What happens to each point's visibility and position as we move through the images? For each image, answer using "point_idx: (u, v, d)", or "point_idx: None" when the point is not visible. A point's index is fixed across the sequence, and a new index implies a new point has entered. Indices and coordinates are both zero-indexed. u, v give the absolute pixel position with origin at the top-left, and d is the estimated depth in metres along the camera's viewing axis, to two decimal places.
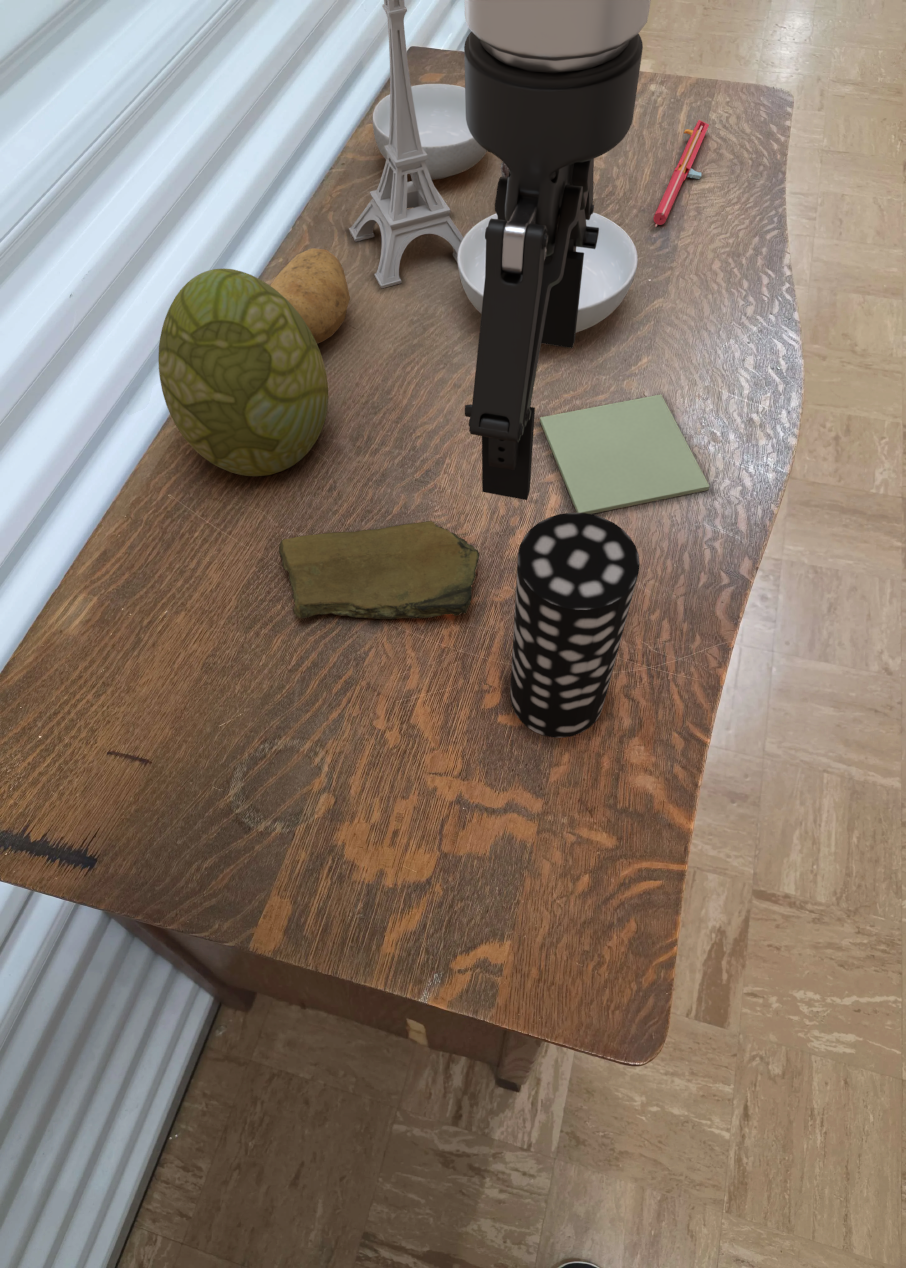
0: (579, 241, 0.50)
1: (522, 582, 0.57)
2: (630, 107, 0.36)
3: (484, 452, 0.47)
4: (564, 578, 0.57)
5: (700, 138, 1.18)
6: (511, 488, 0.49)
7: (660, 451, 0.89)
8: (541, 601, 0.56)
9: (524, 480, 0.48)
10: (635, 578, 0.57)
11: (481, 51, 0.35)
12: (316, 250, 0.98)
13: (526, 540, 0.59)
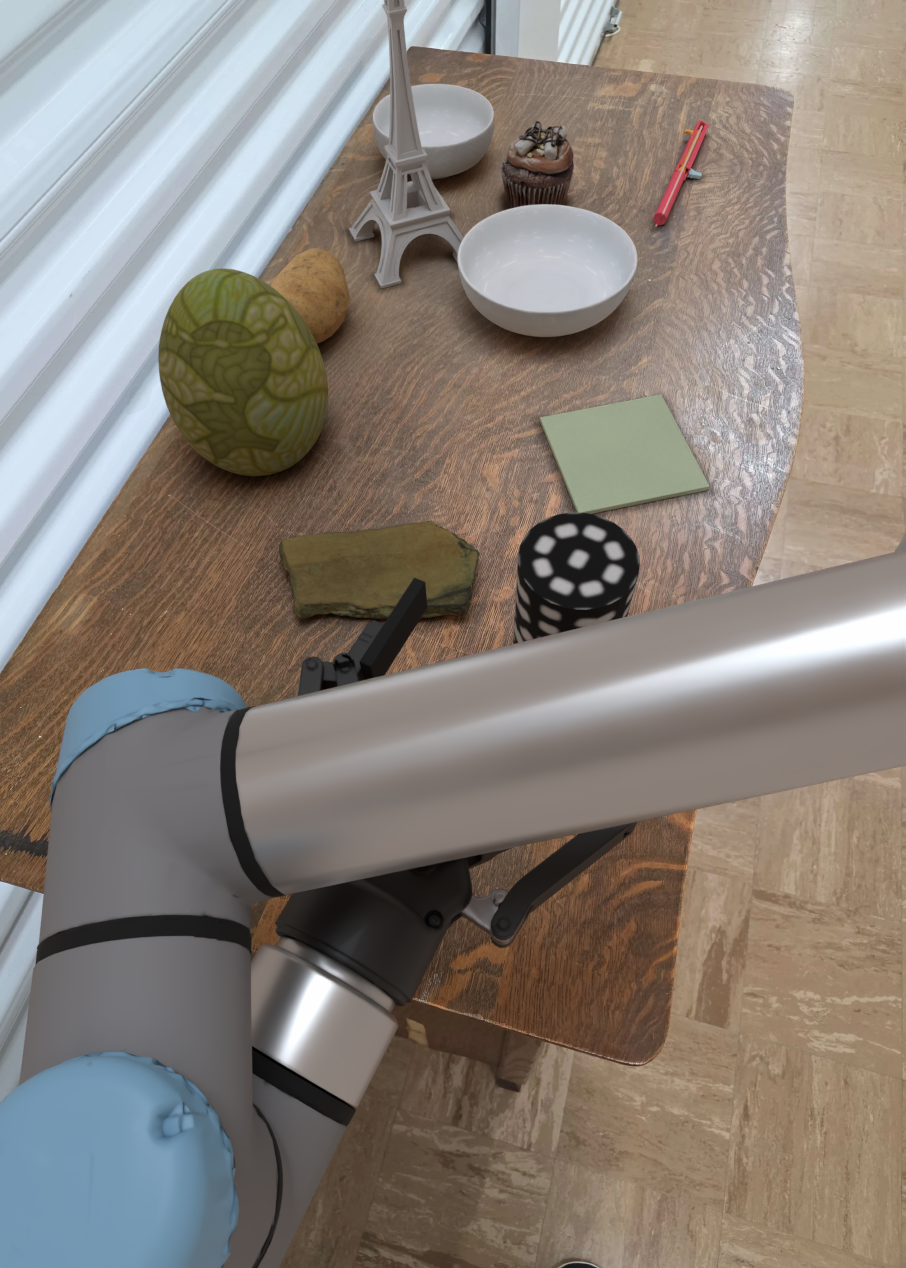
0: None
1: (522, 582, 0.57)
2: (365, 917, 0.38)
3: None
4: (564, 578, 0.57)
5: (700, 138, 1.18)
6: None
7: (660, 451, 0.89)
8: (541, 601, 0.56)
9: None
10: (635, 578, 0.57)
11: None
12: (316, 250, 0.98)
13: (526, 540, 0.59)
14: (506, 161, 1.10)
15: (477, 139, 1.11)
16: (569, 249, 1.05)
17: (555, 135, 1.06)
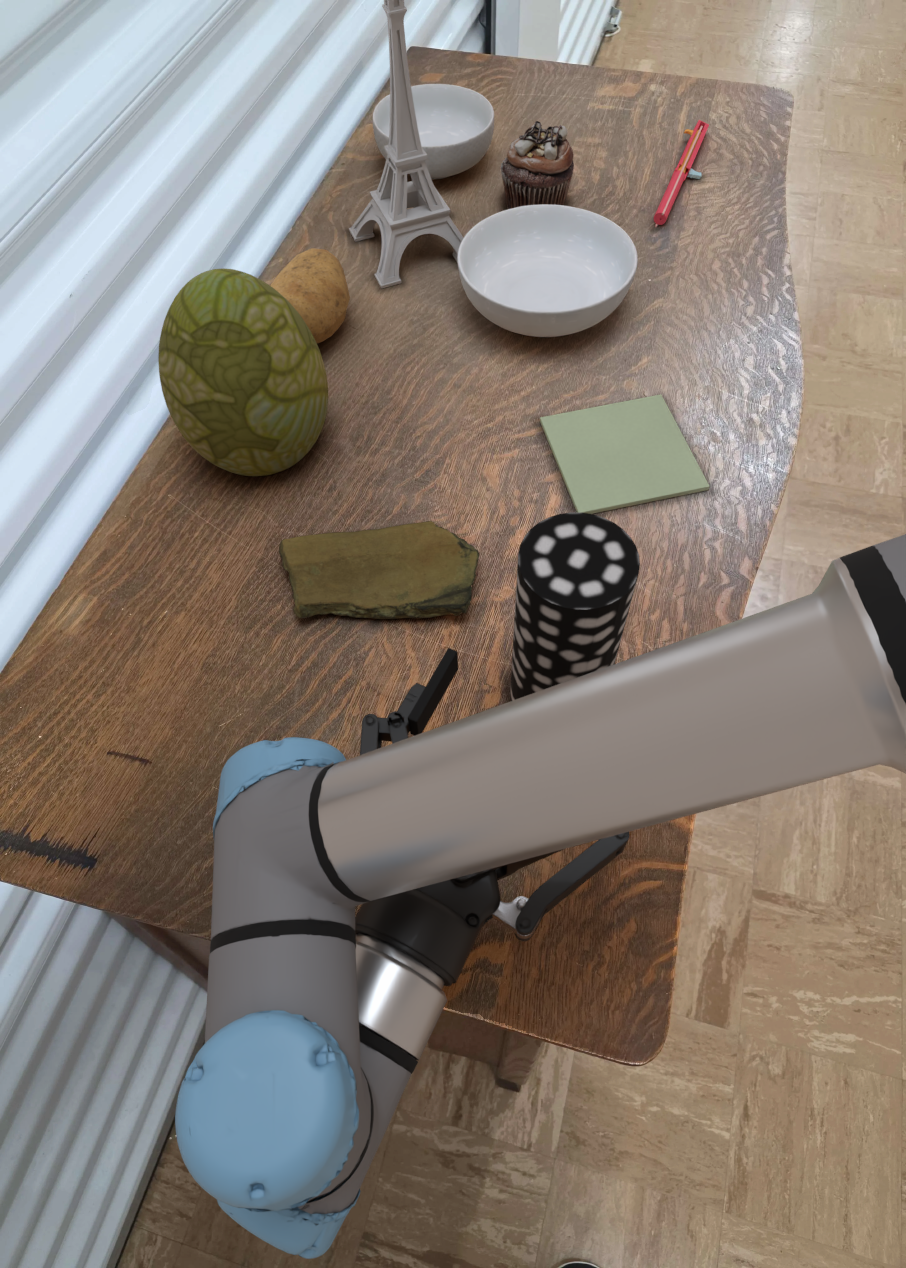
0: (407, 735, 0.60)
1: (522, 582, 0.57)
2: (423, 919, 0.51)
3: None
4: (564, 578, 0.57)
5: (700, 138, 1.18)
6: None
7: (660, 451, 0.89)
8: (541, 601, 0.56)
9: None
10: (635, 578, 0.57)
11: None
12: (316, 250, 0.98)
13: (526, 540, 0.59)
14: (506, 161, 1.10)
15: (477, 139, 1.11)
16: (569, 249, 1.05)
17: (555, 135, 1.06)
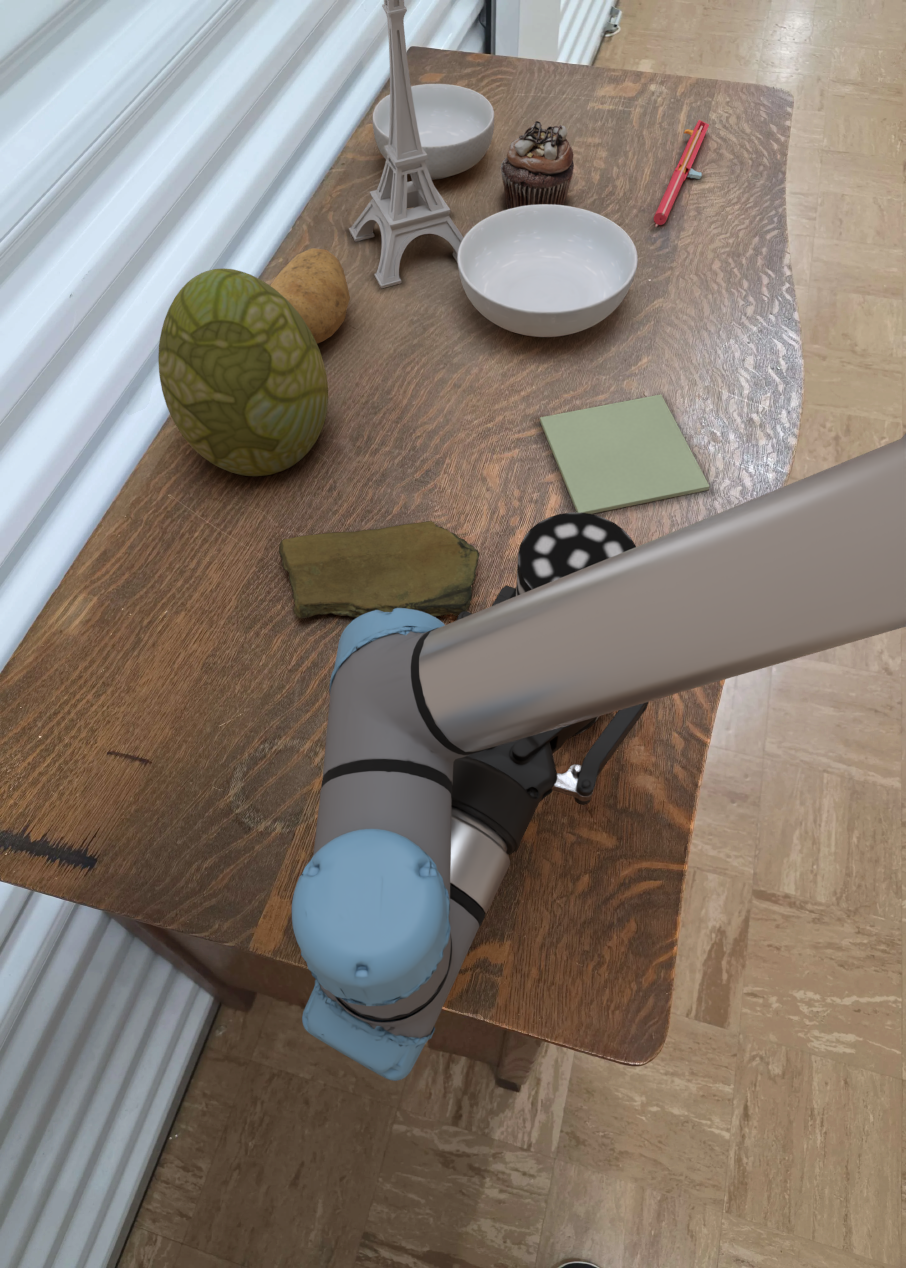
0: None
1: (522, 582, 0.57)
2: (489, 786, 0.55)
3: None
4: None
5: (700, 138, 1.18)
6: None
7: (660, 451, 0.89)
8: None
9: None
10: None
11: None
12: (316, 250, 0.98)
13: (526, 540, 0.59)
14: (506, 161, 1.10)
15: (477, 139, 1.11)
16: (569, 249, 1.05)
17: (555, 135, 1.06)
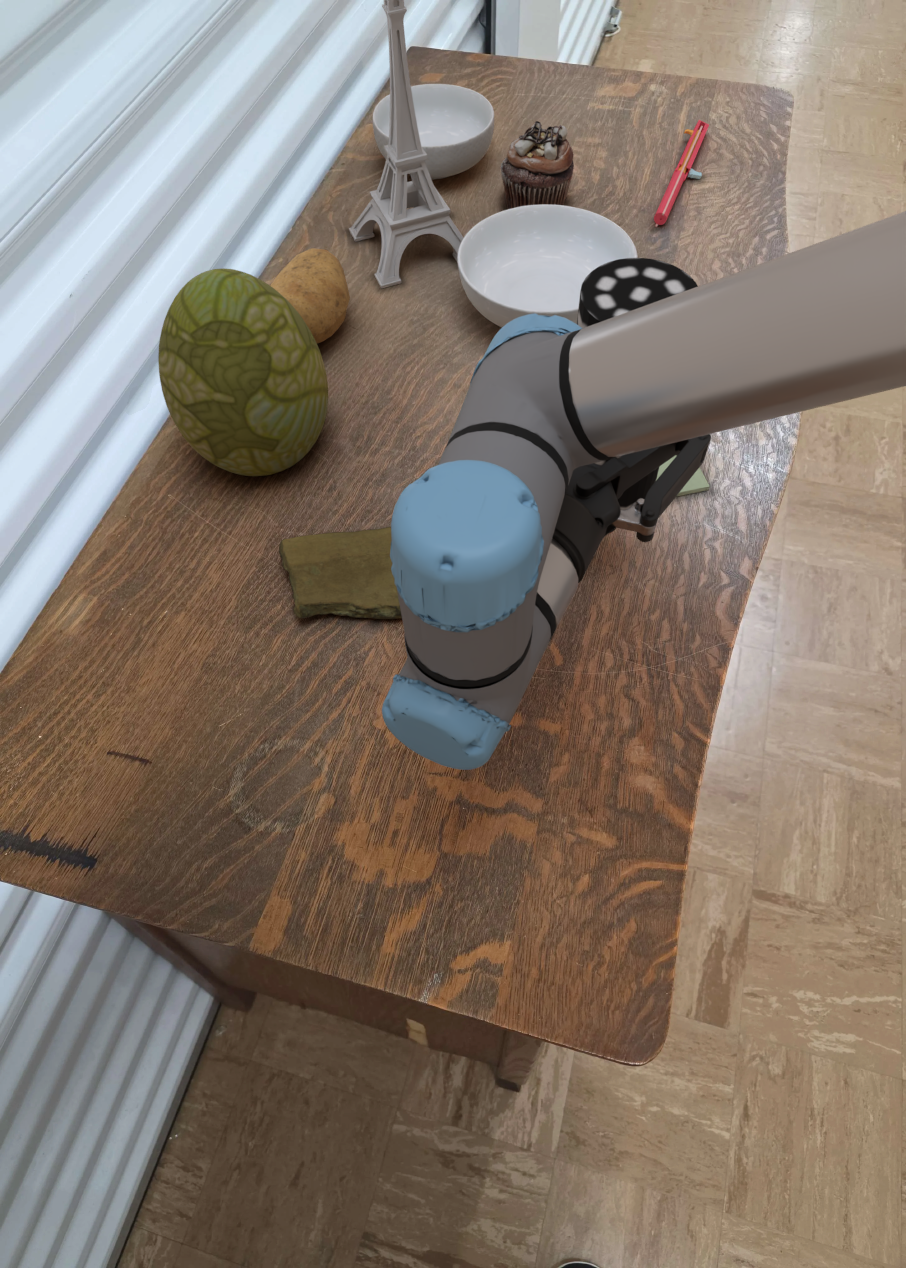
0: None
1: (585, 316, 0.58)
2: None
3: None
4: (627, 309, 0.58)
5: (700, 138, 1.18)
6: None
7: None
8: None
9: None
10: None
11: None
12: (316, 250, 0.98)
13: (588, 280, 0.60)
14: (506, 161, 1.10)
15: (477, 139, 1.11)
16: (569, 249, 1.05)
17: (555, 135, 1.06)
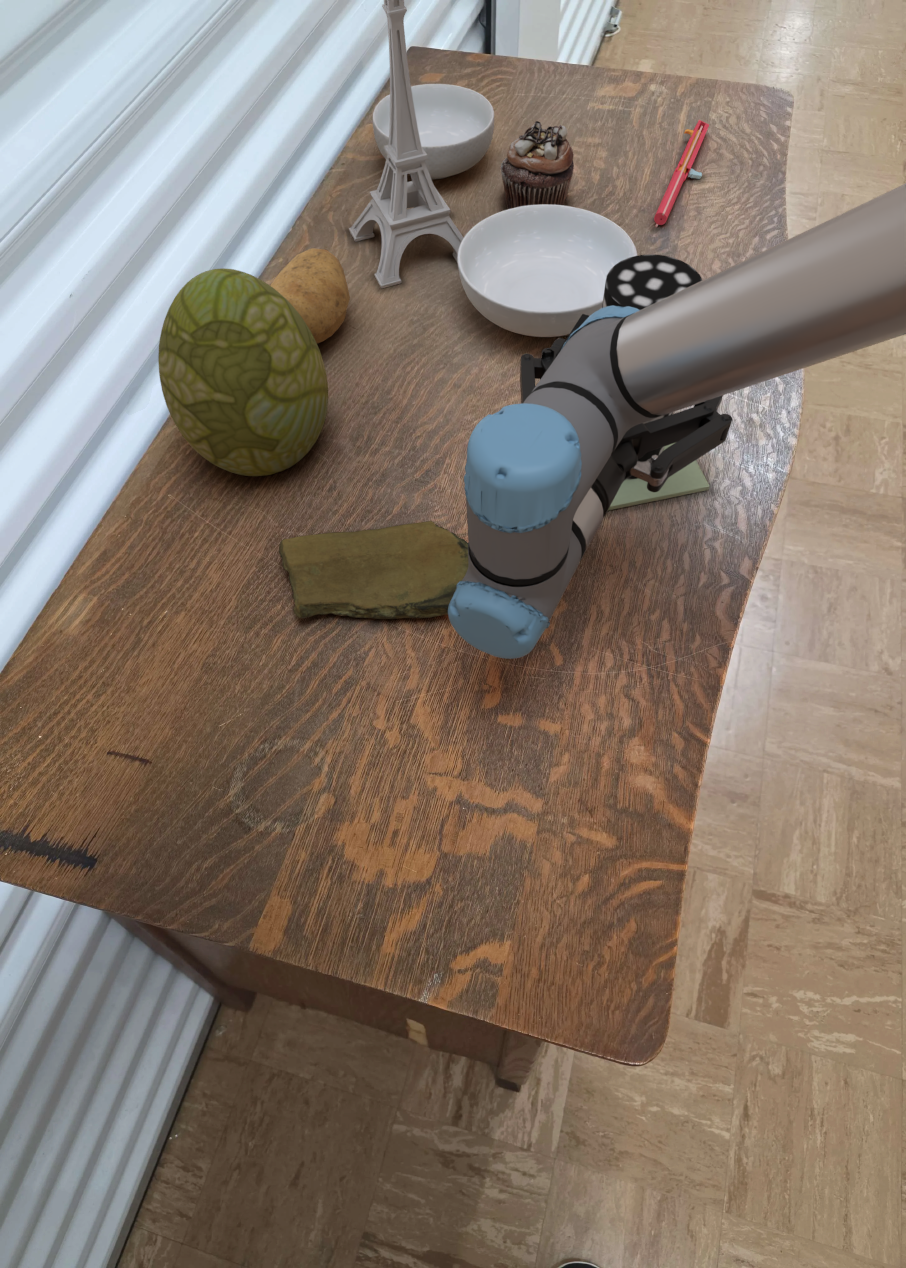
0: None
1: (610, 301, 0.72)
2: None
3: None
4: (644, 296, 0.71)
5: (700, 138, 1.18)
6: None
7: None
8: None
9: None
10: None
11: None
12: (316, 250, 0.98)
13: (611, 272, 0.73)
14: (506, 161, 1.10)
15: (477, 139, 1.11)
16: (569, 249, 1.05)
17: (555, 135, 1.06)
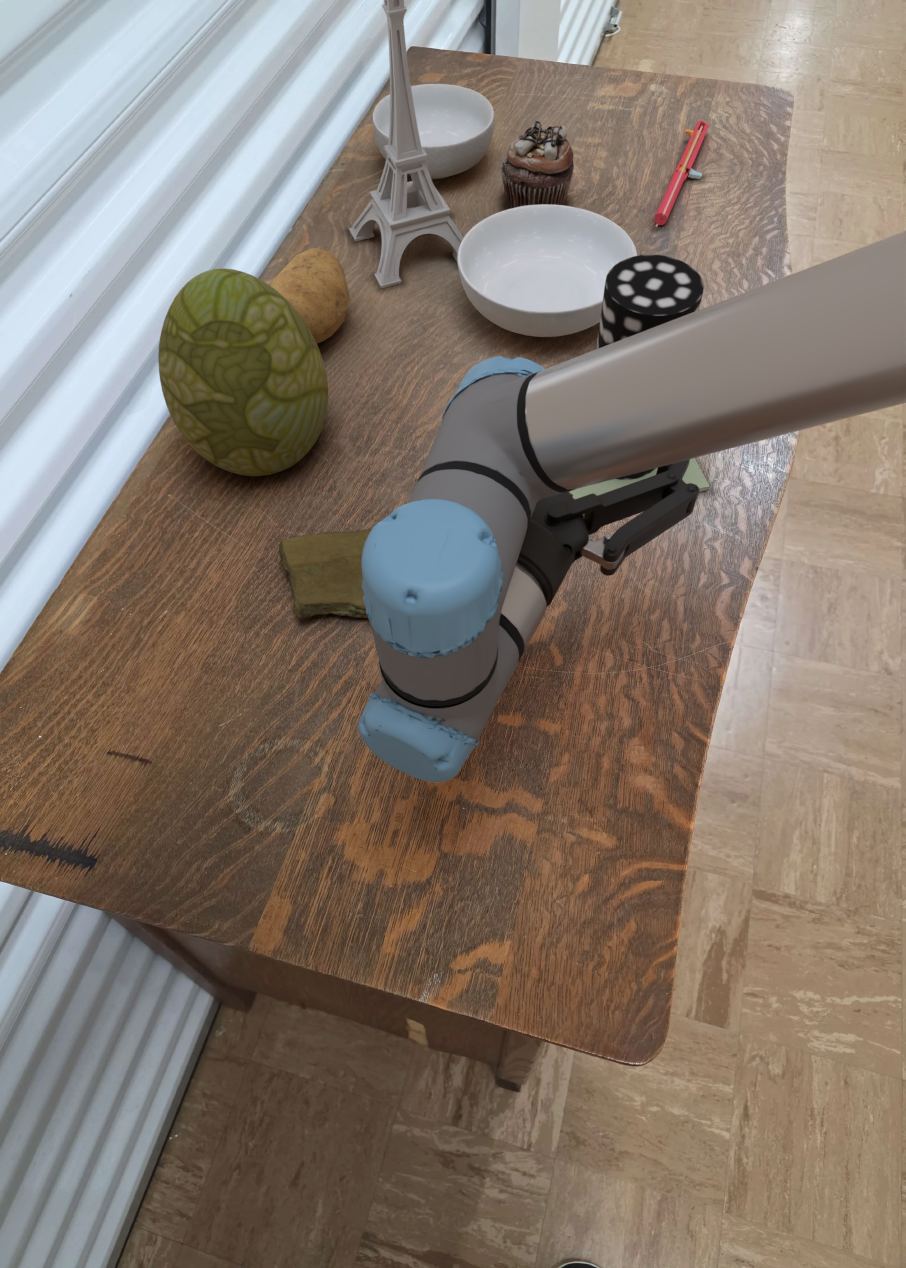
0: None
1: (609, 302, 0.72)
2: (527, 533, 0.59)
3: None
4: (644, 296, 0.71)
5: (700, 138, 1.18)
6: None
7: None
8: (626, 313, 0.71)
9: None
10: (700, 295, 0.71)
11: None
12: (316, 250, 0.98)
13: (611, 272, 0.73)
14: (506, 161, 1.10)
15: (477, 139, 1.11)
16: (569, 249, 1.05)
17: (555, 135, 1.06)
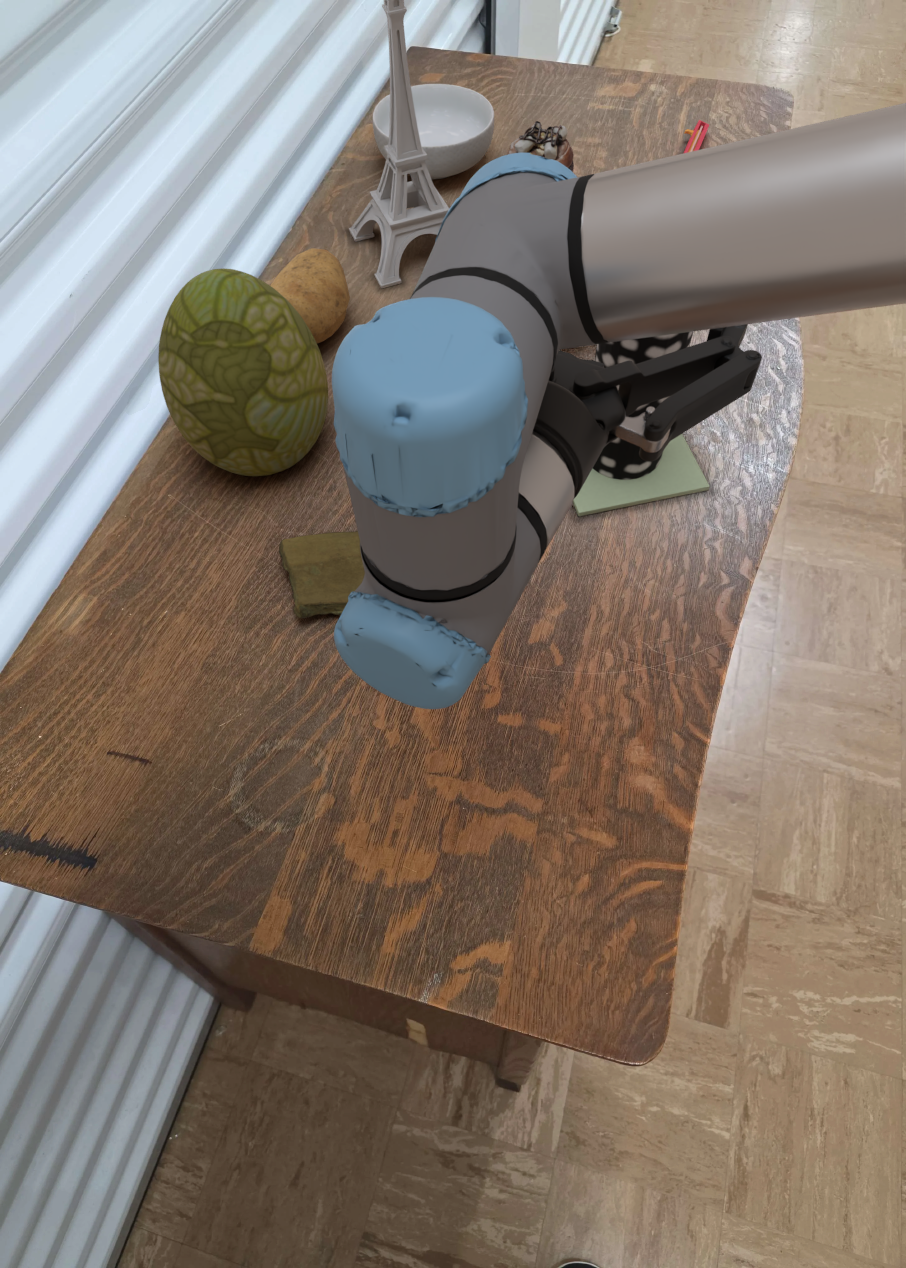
0: None
1: None
2: (551, 398, 0.47)
3: None
4: None
5: (700, 138, 1.18)
6: None
7: None
8: None
9: None
10: None
11: None
12: (316, 250, 0.98)
13: None
14: None
15: (477, 139, 1.11)
16: None
17: (555, 135, 1.06)
